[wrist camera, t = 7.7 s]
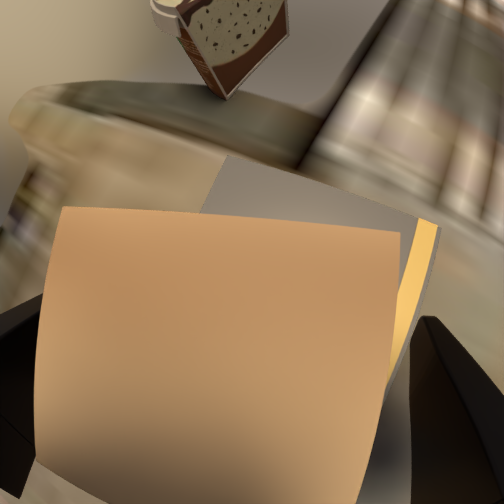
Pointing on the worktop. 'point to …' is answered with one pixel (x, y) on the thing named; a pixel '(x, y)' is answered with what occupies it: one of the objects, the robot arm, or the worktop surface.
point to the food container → (224, 36)
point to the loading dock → (333, 213)
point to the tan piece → (213, 356)
